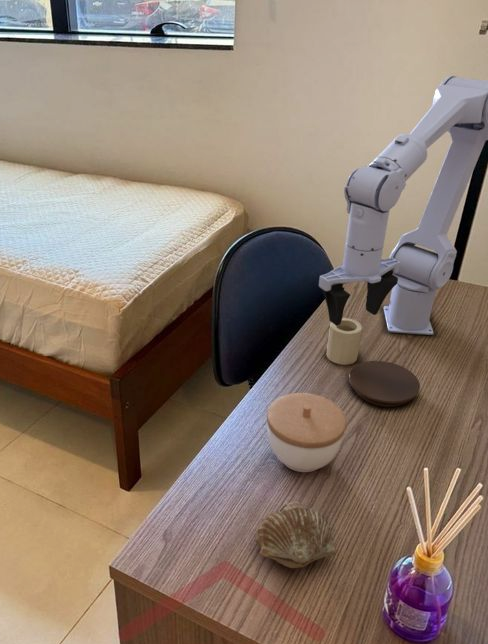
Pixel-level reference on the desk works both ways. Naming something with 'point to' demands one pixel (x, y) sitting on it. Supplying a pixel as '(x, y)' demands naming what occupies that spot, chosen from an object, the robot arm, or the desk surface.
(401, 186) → the robot arm
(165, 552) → the desk surface
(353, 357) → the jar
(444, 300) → the desk surface
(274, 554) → the seashell
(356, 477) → the desk surface
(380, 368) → the stand
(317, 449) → the trinket box
